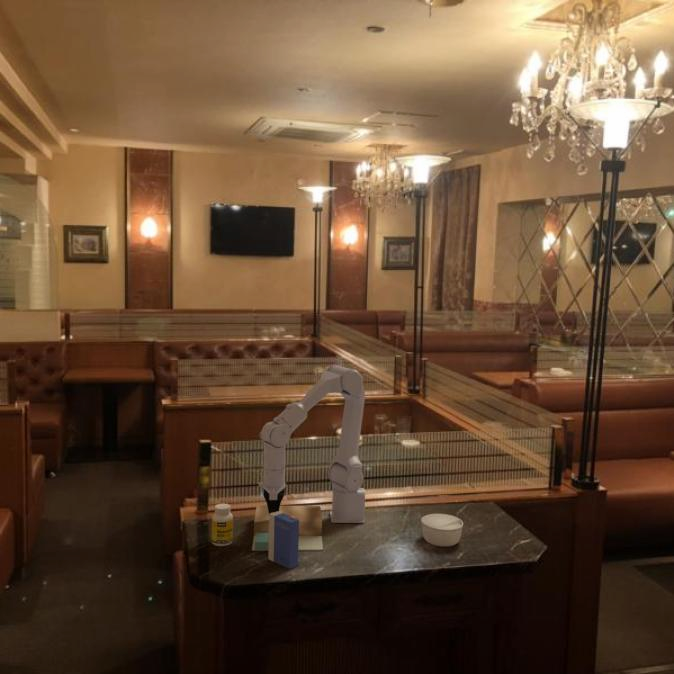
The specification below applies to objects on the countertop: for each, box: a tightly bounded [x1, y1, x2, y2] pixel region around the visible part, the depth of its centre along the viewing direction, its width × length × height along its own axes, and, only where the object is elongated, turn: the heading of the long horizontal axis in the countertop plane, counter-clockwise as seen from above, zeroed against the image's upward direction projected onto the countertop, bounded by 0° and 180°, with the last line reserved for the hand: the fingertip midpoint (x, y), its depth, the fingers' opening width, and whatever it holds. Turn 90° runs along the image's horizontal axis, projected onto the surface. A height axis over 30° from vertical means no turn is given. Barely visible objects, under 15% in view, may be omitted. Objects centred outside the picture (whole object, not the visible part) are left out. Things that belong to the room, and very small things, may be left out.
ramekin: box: [420, 513, 464, 547], centre depth 184 cm, size 11×11×5 cm
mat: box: [251, 535, 324, 552], centre depth 179 cm, size 18×8×1 cm, turn 93°
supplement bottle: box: [211, 503, 234, 547], centre depth 178 cm, size 5×5×10 cm
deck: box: [253, 505, 323, 537], centre depth 189 cm, size 18×12×4 cm, turn 93°
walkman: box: [267, 511, 299, 570], centre depth 167 cm, size 8×3×12 cm, turn 47°
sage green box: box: [255, 533, 269, 550], centre depth 177 cm, size 9×6×2 cm, turn 94°
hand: (273, 516), depth 184 cm, fingers closed
